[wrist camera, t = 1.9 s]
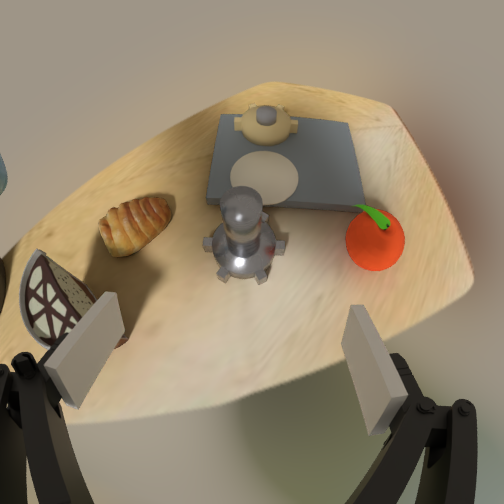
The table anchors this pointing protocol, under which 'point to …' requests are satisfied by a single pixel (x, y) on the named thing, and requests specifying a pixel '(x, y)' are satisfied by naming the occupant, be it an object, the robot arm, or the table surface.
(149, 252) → the table surface
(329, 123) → the gear board
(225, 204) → the gear
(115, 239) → the pastry
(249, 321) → the table surface
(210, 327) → the table surface
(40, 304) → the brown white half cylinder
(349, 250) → the clementine
